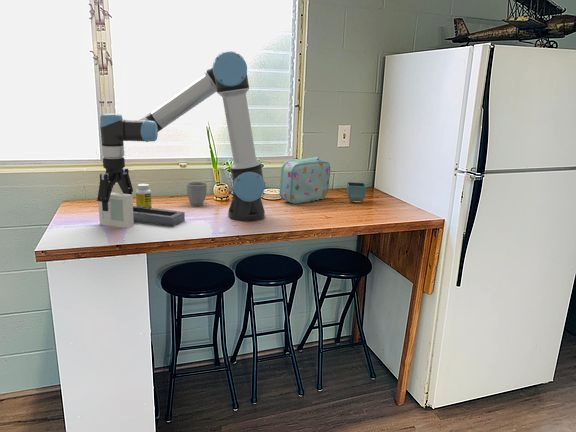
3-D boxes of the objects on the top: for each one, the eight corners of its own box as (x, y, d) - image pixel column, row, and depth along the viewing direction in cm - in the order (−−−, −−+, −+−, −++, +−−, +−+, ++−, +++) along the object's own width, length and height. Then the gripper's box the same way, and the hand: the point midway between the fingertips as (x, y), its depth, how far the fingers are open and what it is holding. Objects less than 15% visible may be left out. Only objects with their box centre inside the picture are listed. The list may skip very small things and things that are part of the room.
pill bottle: (147, 212, 196) (146, 186, 193) (133, 211, 197) (132, 185, 194) (154, 209, 202) (153, 183, 199) (141, 207, 203) (140, 182, 200)
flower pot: (365, 204, 227) (367, 186, 225) (347, 203, 227) (348, 185, 225) (363, 200, 235) (364, 182, 233) (345, 199, 235) (346, 182, 233)
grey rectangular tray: (184, 220, 187) (184, 212, 186) (172, 226, 178) (172, 217, 177) (132, 213, 193) (131, 205, 192) (117, 219, 184) (117, 210, 183)
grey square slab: (133, 225, 178) (132, 194, 175) (127, 228, 174) (125, 196, 171) (106, 221, 181) (104, 191, 178) (99, 224, 177) (97, 193, 174)
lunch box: (315, 195, 242) (318, 154, 236) (330, 199, 234) (333, 156, 229) (276, 202, 224) (278, 157, 219) (291, 206, 217) (293, 160, 211)
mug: (209, 205, 212) (209, 184, 209) (190, 207, 207) (190, 186, 205) (200, 200, 222) (200, 179, 219) (182, 201, 218) (182, 180, 215)
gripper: (123, 152, 183) (127, 206, 189) (82, 160, 161) (88, 222, 167) (140, 153, 181) (143, 208, 187) (101, 162, 159) (106, 224, 165)
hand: (117, 215), depth 177 cm, fingers open, 11 cm apart
